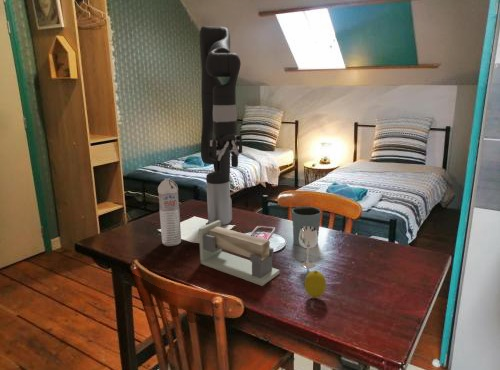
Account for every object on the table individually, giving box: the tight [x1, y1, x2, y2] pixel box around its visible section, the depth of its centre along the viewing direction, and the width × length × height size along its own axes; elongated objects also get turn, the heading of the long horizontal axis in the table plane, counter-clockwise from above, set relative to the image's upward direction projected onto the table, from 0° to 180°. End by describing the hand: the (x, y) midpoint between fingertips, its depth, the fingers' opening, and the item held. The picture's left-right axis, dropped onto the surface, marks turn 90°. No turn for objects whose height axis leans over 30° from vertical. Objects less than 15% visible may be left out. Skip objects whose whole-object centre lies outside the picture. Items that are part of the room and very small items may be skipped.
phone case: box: [249, 225, 276, 240], centre depth 147 cm, size 7×1×15 cm
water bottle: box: [157, 174, 182, 247], centre depth 138 cm, size 7×7×25 cm
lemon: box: [304, 270, 327, 299], centre depth 104 cm, size 6×6×8 cm
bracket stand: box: [198, 220, 280, 287], centre depth 120 cm, size 9×24×12 cm, turn 53°
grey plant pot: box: [291, 205, 322, 248], centre depth 139 cm, size 10×10×12 cm
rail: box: [209, 226, 270, 261], centre depth 120 cm, size 4×20×5 cm, turn 53°
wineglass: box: [299, 226, 319, 269], centre depth 122 cm, size 6×6×12 cm
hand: (226, 169), depth 129 cm, fingers open, 8 cm apart
